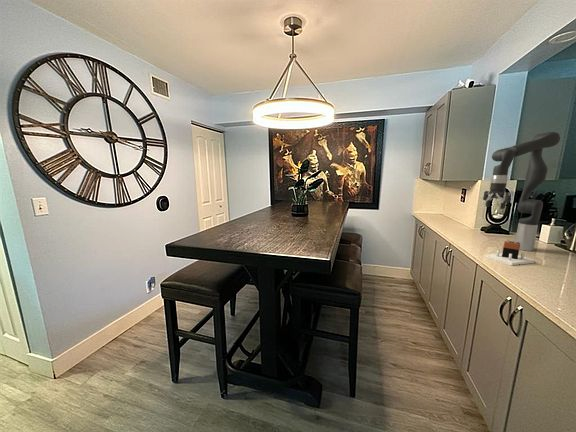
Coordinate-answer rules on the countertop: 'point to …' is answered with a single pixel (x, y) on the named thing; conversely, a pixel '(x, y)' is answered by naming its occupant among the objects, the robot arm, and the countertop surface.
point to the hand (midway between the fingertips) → (494, 207)
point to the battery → (511, 249)
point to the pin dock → (510, 259)
